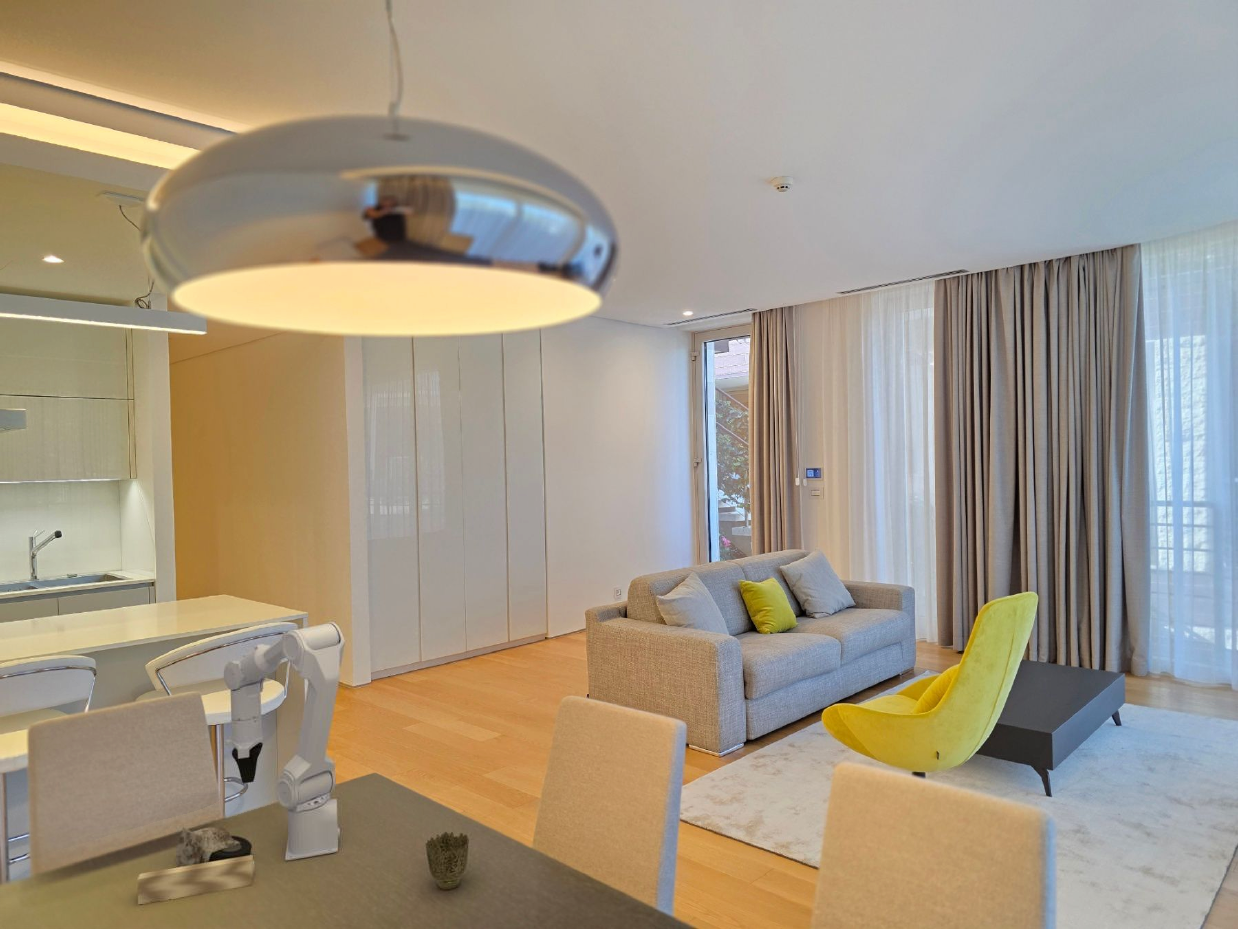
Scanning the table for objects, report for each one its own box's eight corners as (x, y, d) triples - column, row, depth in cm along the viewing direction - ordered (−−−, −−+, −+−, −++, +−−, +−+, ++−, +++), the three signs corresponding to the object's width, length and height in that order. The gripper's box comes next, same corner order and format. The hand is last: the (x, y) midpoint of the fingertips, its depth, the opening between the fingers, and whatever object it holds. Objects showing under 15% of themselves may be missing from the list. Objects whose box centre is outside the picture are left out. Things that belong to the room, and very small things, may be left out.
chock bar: (254, 873, 151) (254, 848, 151) (252, 885, 147) (251, 859, 147) (144, 892, 145) (143, 867, 145) (138, 905, 141) (137, 879, 141)
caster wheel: (255, 872, 157) (208, 888, 148) (218, 848, 162) (171, 862, 154) (264, 837, 157) (217, 851, 148) (226, 814, 163) (180, 827, 154)
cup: (477, 878, 146) (476, 834, 146) (456, 900, 139) (455, 852, 139) (441, 873, 149) (440, 829, 149) (418, 893, 142) (417, 847, 142)
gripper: (229, 709, 177) (231, 772, 177) (220, 729, 163) (222, 797, 163) (265, 705, 179) (267, 767, 179) (259, 724, 165) (261, 792, 165)
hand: (248, 781), depth 171 cm, fingers closed
